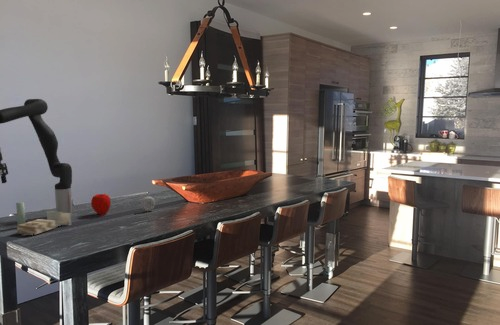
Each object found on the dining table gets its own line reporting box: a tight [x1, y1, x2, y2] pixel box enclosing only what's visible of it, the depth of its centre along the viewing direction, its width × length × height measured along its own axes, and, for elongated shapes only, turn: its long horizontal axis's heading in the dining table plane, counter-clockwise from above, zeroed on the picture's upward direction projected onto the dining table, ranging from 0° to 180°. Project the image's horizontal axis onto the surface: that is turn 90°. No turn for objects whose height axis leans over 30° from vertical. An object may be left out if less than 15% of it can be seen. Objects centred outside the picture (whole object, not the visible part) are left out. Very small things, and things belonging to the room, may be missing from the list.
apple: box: [90, 193, 112, 216], centre depth 257 cm, size 12×12×13 cm
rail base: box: [18, 210, 72, 236], centre depth 224 cm, size 25×16×7 cm, turn 162°
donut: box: [140, 195, 156, 212], centre depth 265 cm, size 10×4×10 cm, turn 130°
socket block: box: [16, 218, 57, 236], centre depth 220 cm, size 14×12×4 cm
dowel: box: [15, 201, 26, 225], centre depth 228 cm, size 4×4×14 cm
